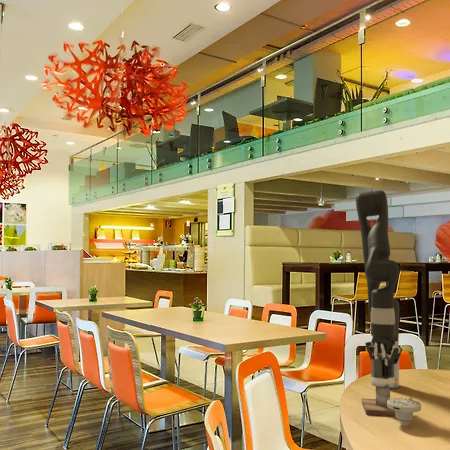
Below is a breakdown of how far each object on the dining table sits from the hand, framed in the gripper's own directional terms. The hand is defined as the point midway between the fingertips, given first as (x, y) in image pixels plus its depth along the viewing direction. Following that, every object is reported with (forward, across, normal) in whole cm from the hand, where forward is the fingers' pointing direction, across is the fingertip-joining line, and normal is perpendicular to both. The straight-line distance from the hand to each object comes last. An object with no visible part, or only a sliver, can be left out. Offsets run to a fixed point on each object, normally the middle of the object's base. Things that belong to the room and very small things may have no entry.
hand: (383, 375), depth 162 cm
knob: (+3, 0, 0) cm, 3 cm away
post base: (+11, 0, 0) cm, 11 cm away
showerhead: (+11, +13, -6) cm, 18 cm away
